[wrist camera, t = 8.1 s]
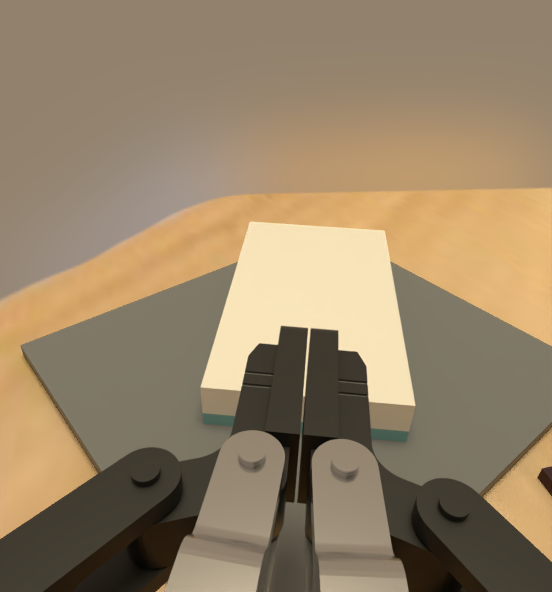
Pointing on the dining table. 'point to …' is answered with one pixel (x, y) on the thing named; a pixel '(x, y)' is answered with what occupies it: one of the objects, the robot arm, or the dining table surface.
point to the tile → (314, 315)
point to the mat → (209, 438)
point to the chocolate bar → (546, 478)
